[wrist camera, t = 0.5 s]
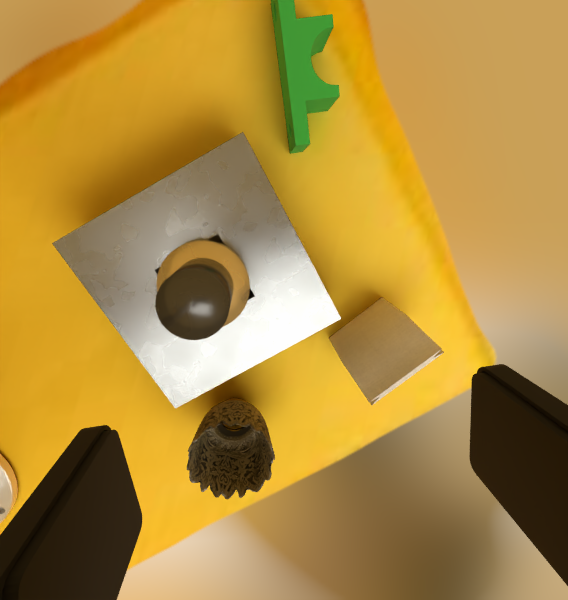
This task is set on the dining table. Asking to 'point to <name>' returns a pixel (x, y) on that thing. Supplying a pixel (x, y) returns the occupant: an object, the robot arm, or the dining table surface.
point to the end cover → (201, 289)
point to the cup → (231, 450)
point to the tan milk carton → (383, 349)
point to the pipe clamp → (301, 69)
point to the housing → (198, 226)
